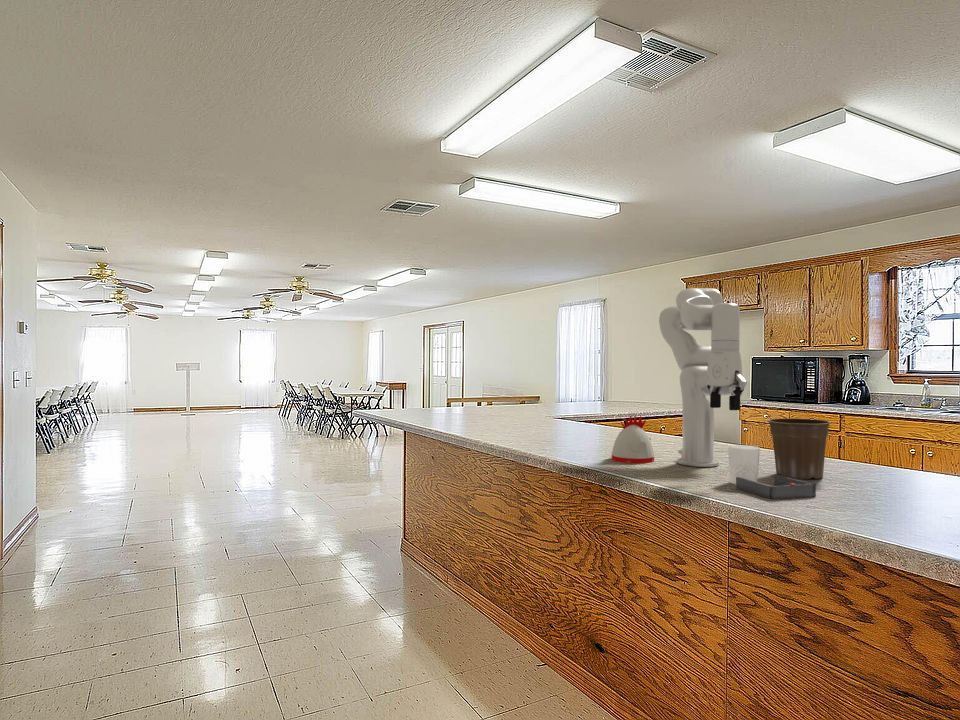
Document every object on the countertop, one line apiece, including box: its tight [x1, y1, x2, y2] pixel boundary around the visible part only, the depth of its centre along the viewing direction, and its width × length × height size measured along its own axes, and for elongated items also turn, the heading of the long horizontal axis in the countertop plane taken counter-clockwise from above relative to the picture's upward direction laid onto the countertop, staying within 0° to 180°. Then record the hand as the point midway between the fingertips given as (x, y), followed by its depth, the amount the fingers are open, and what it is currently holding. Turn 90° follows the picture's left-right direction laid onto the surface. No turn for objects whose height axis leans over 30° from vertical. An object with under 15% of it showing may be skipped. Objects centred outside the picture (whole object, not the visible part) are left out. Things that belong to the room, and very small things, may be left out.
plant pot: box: [767, 417, 832, 480], centre depth 180 cm, size 16×16×16 cm
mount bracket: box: [735, 474, 817, 500], centre depth 158 cm, size 13×13×3 cm
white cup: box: [727, 444, 761, 486], centre depth 169 cm, size 8×8×10 cm
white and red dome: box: [611, 415, 655, 464], centre depth 208 cm, size 14×14×15 cm
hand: (724, 408), depth 177 cm, fingers open, 7 cm apart
